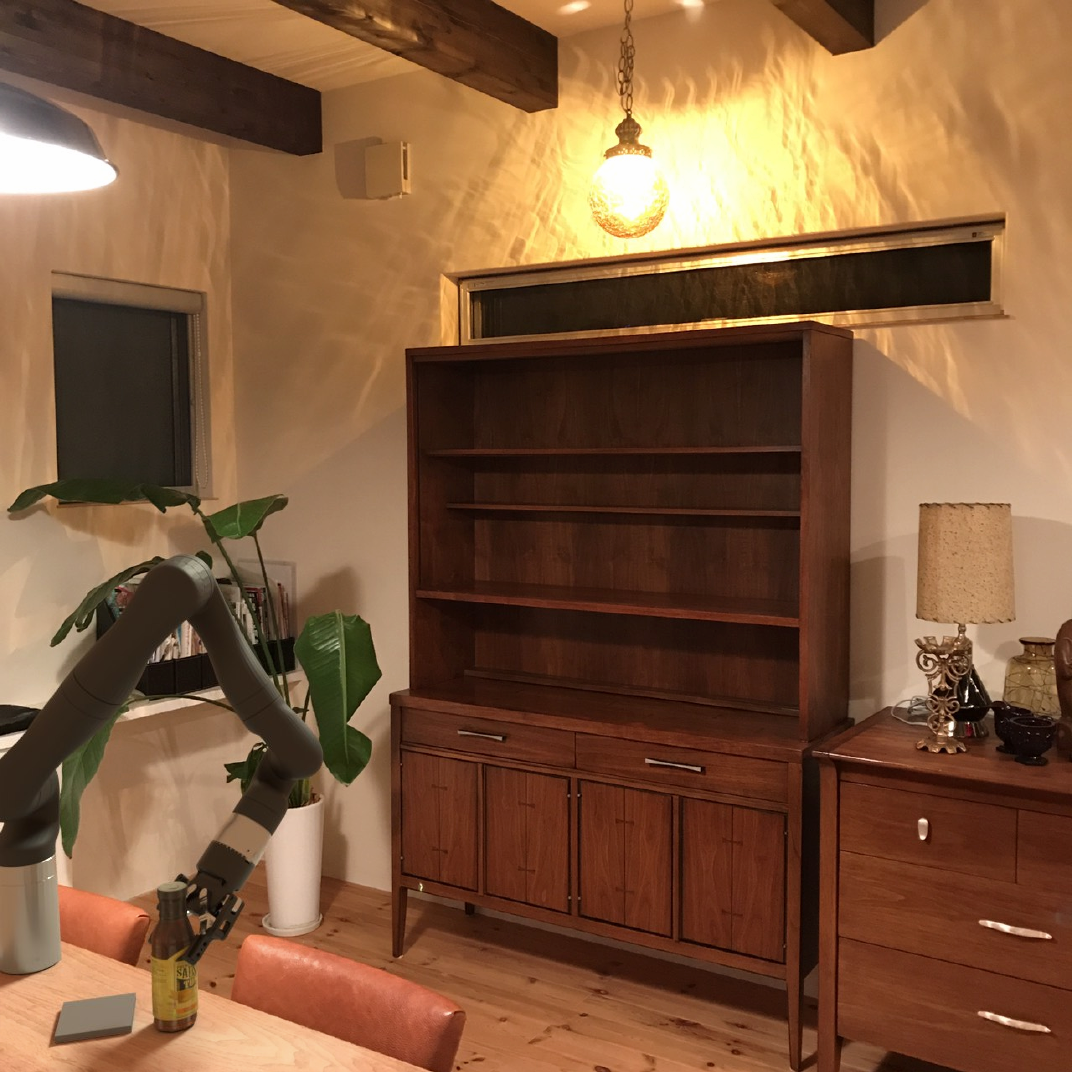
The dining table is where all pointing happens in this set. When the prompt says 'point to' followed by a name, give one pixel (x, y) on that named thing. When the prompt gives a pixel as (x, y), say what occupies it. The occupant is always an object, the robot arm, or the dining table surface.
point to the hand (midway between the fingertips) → (170, 954)
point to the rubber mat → (96, 1017)
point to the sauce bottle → (173, 962)
